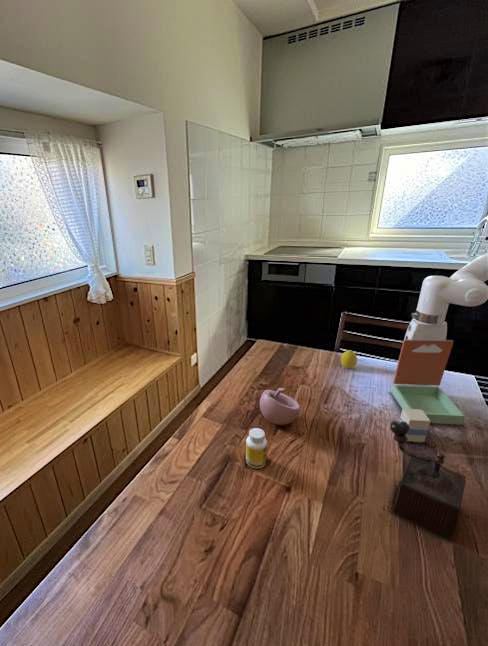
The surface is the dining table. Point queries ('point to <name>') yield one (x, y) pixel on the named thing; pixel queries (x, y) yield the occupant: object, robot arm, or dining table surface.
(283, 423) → the mortar and pestle
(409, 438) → the drink carton
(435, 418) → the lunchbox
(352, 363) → the lemon
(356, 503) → the dining table surface
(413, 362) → the lunchbox lid
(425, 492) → the manual coffee grinder
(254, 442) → the supplement bottle
